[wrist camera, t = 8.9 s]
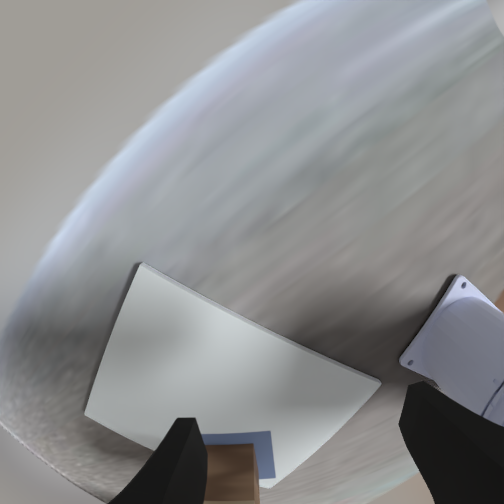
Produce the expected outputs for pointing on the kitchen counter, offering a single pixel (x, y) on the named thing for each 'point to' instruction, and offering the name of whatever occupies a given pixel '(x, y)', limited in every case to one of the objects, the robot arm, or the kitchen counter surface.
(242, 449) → the walnut block
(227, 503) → the maple block
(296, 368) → the white square board
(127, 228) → the kitchen counter surface
